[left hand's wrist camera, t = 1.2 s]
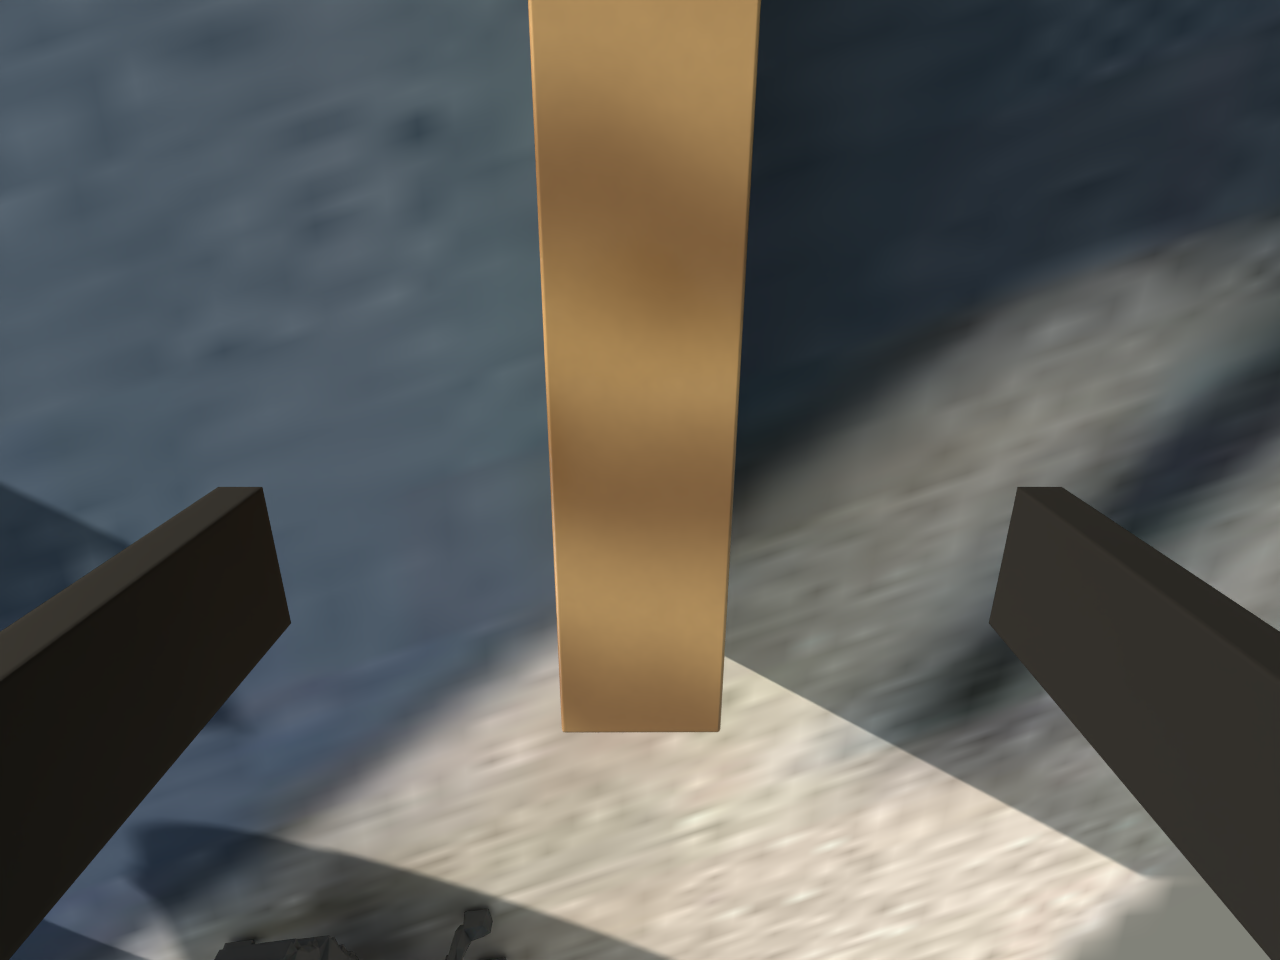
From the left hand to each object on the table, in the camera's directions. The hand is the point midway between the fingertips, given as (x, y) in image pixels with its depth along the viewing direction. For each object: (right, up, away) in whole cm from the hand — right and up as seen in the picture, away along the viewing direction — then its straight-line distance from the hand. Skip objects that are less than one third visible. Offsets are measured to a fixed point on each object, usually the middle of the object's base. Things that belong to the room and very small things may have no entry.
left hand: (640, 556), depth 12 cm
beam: (0, +30, +2) cm, 30 cm away
